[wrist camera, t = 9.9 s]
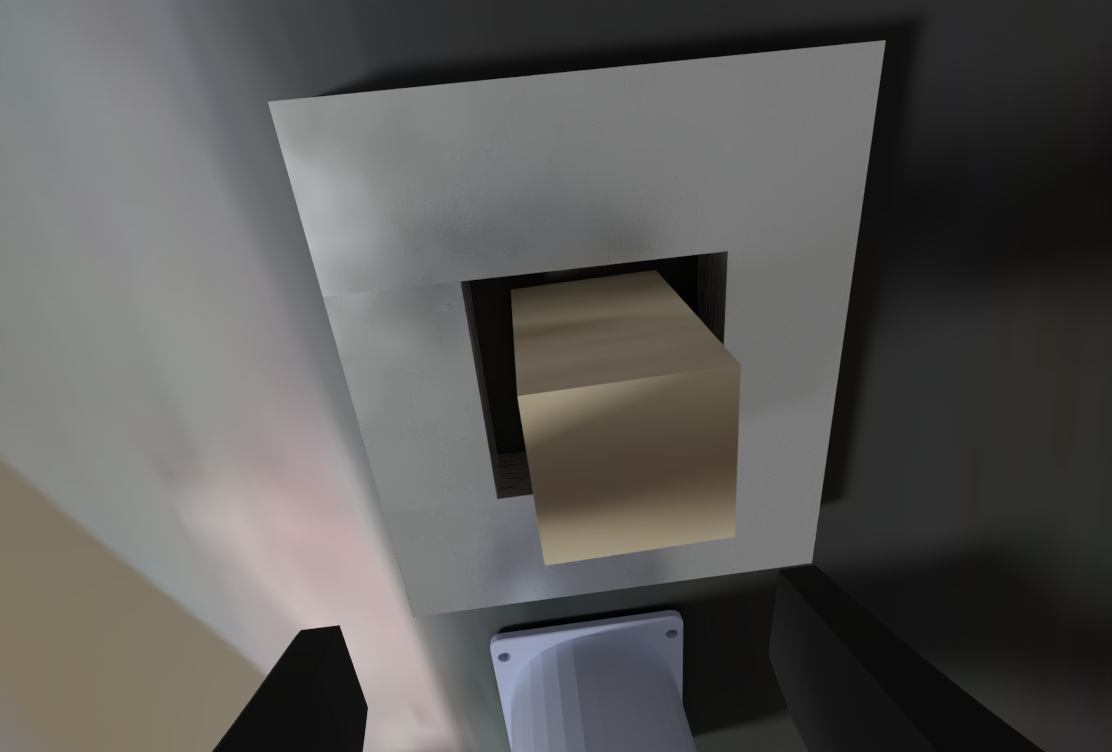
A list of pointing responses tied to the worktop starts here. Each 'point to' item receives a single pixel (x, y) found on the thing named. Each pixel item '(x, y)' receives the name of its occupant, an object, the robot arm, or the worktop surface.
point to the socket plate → (575, 242)
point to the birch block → (624, 417)
